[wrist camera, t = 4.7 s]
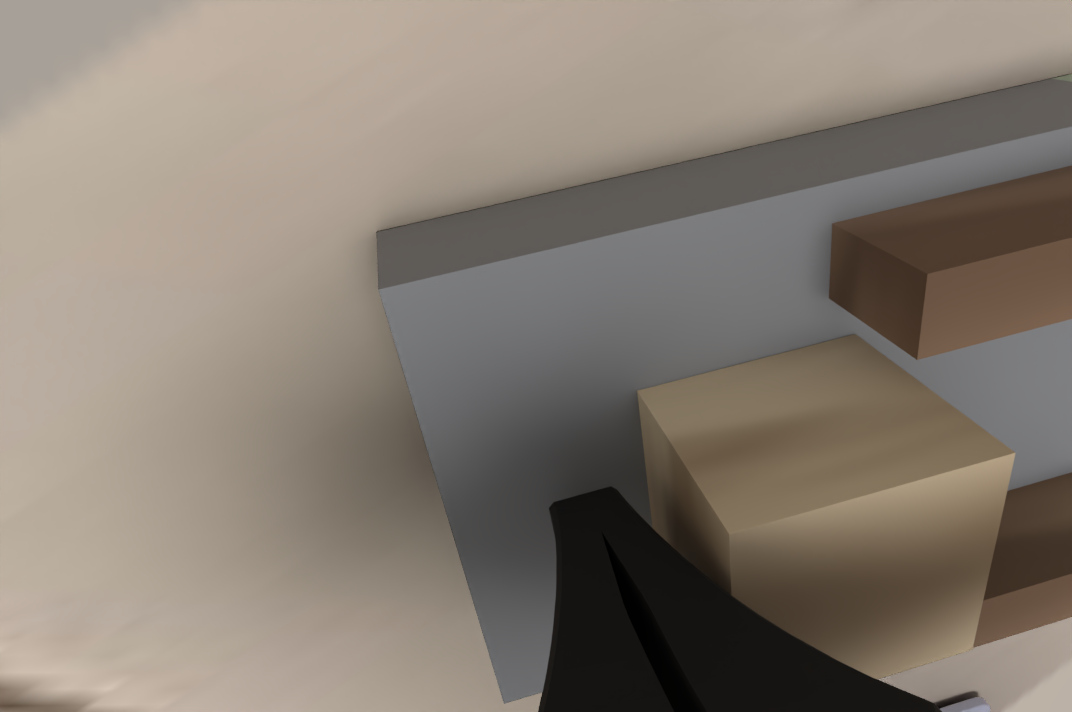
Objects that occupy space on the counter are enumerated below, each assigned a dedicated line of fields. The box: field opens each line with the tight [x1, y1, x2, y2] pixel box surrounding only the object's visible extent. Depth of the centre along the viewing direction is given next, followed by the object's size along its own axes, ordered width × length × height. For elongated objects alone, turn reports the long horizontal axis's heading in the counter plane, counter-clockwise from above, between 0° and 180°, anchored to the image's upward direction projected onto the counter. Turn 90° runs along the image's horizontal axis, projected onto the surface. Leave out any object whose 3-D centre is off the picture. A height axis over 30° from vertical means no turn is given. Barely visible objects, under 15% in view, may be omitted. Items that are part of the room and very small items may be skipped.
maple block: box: [637, 334, 1016, 679], centre depth 13 cm, size 4×4×4 cm
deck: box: [377, 74, 1072, 703], centre depth 17 cm, size 11×28×3 cm, turn 100°
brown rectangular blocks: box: [829, 165, 1072, 648], centre depth 14 cm, size 10×7×2 cm
